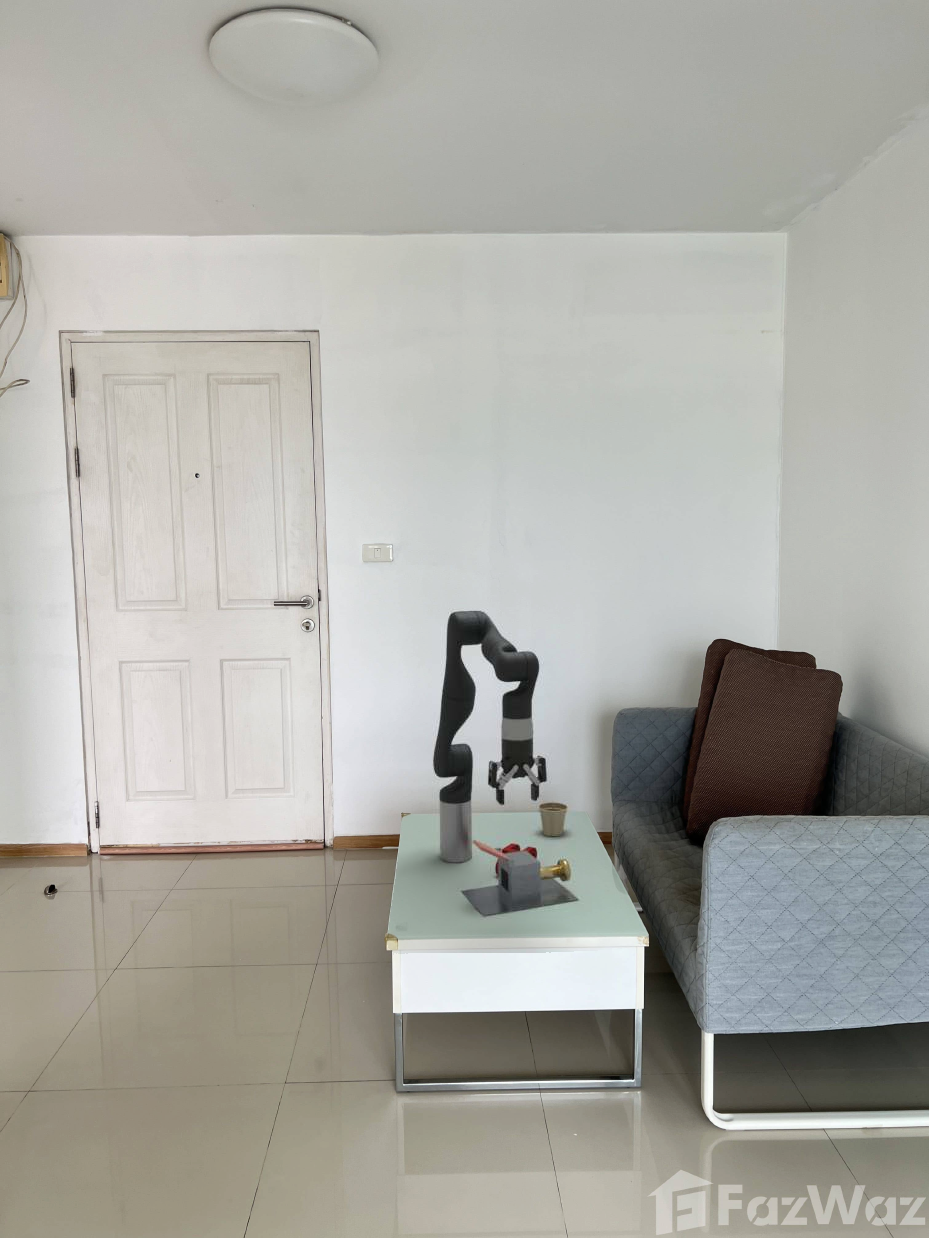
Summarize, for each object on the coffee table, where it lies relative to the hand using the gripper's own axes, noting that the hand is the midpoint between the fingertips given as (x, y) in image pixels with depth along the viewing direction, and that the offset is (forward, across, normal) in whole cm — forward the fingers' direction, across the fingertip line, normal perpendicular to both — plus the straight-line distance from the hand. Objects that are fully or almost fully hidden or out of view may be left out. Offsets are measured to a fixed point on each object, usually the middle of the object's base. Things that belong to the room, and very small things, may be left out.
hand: (517, 801), depth 207 cm
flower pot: (+30, -35, -53) cm, 70 cm away
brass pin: (+27, -12, -13) cm, 32 cm away
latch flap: (+17, +2, -13) cm, 21 cm away
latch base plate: (+29, -6, -13) cm, 33 cm away
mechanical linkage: (+30, -12, -31) cm, 45 cm away
